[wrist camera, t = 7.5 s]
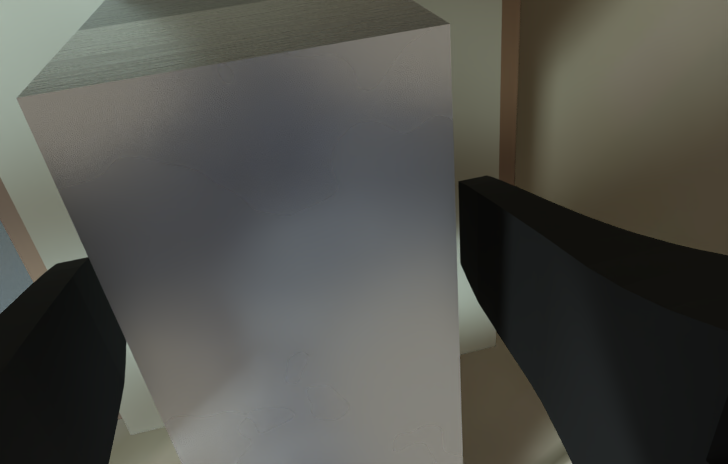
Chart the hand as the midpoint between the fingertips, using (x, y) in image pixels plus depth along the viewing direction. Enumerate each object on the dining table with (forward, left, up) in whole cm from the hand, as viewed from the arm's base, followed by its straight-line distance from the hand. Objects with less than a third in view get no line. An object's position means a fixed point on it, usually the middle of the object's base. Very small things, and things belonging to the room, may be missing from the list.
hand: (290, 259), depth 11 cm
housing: (0, 0, -3) cm, 3 cm away
